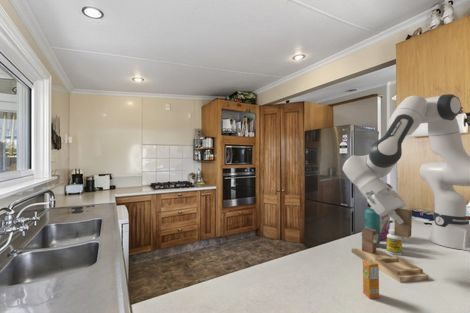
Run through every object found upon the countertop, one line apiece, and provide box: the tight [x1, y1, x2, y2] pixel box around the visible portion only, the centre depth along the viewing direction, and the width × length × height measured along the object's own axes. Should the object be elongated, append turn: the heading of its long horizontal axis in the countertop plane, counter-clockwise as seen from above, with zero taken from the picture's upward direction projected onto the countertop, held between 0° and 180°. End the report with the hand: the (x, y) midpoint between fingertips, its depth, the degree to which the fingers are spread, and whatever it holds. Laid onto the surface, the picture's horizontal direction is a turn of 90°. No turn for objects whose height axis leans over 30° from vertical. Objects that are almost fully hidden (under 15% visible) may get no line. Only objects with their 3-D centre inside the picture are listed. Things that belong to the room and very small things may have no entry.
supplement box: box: [362, 259, 380, 299], centre depth 69 cm, size 3×4×10 cm
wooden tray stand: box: [351, 227, 429, 283], centre depth 89 cm, size 11×24×10 cm, turn 10°
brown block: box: [392, 208, 413, 239], centre depth 84 cm, size 4×5×9 cm
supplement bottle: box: [386, 228, 403, 256], centre depth 100 cm, size 5×5×10 cm
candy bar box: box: [369, 207, 391, 241], centre depth 118 cm, size 11×5×16 cm, turn 122°
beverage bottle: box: [364, 202, 381, 245], centre depth 108 cm, size 6×7×20 cm
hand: (405, 221), depth 83 cm, fingers closed on brown block, 4 cm apart
